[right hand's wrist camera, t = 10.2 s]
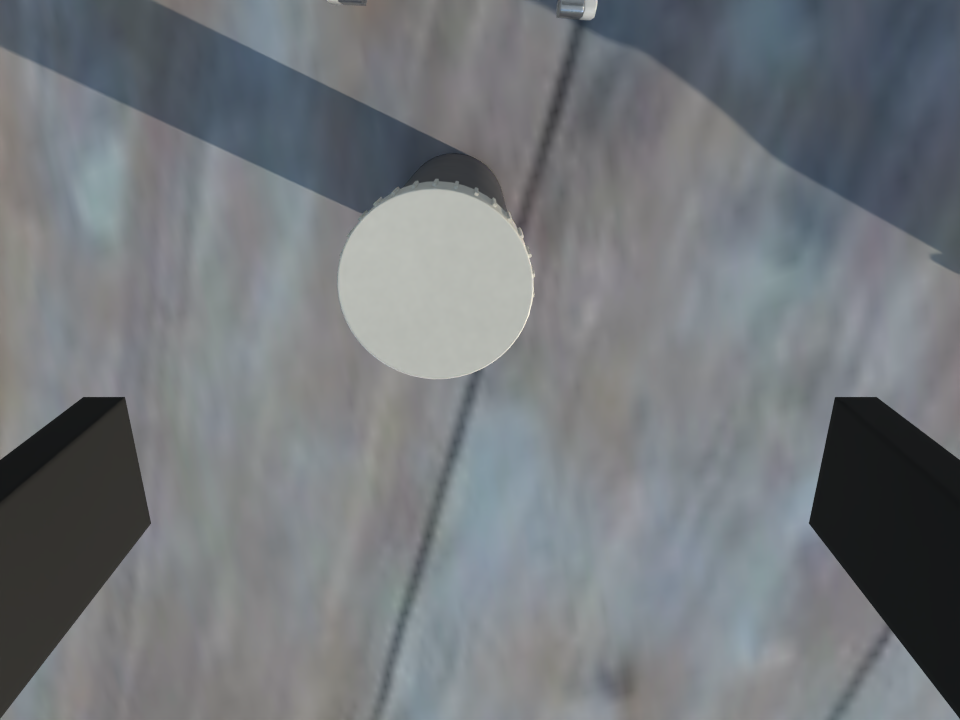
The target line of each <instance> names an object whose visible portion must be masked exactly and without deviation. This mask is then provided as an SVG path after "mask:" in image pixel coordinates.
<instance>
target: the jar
mask: <svg viewBox="0 0 960 720" xmlns="http://www.w3.org/2000/svg"><path fill="white" fill-rule="evenodd" d="M435 179H439V181H442V182H452V183H455V181H459V184H460V185H464V186H467V187H470V188H472V189H475V187H476V188H478V191H479V192H481V193H482V194H484V195H486V196H488V197H489V198H490V199H492V198H493V197H494V198H495V199H496V203H497V204H498V205H499V206H500V207H501V208H502V209H503V210H504V211H505V212H507V210H506V206H505V202H504V198H503V194H502V191H501V187H500V185H499V182H498V180H497V179H496V177H495V175H494V174H493V173H492V171H491V170H490V169H489V168H488V167H487V166H486V165H485V164H483V163H482V162H481V161H479V160H477V159H475V158H473V157H470V156H467V155H463V154H445V155H441V156H437V157H435V158H433V159H431V160H429V161H428V162H426V163H425V164H424V165H422V166H421V167H420V168H419V169H418V171H417V172H416V173H415V174H414V175H413V176H412V177H411V179H410V180H409V181H408V182H407V183H406V184H405V185H404V187H406V186H409V185H412V184H413V183H414V182H415V181H418V182H419V183H422V182H433V181H434V180H435Z"/></svg>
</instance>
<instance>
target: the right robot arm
mask: <svg viewBox="0 0 960 720" xmlns="http://www.w3.org/2000/svg"><path fill="white" fill-rule="evenodd" d="M150 524H151V521H150V516H149V511H148V507H147V502H146V497H145V492H144V487H143V482H142V478H141V473H140V468H139V463H138V458H137V453H136V449H135V444H134V439H133V434H132V429H131V424H130V420H129V415H128V410H127V405H126V400H125V397H83V398H82V399H80V400H79V401H78V402H76V403H75V404H74V405H72V406H71V407H70V408H69V409H67V410H66V411H65V412H63V413H62V414H61V415H59V416H58V417H57V418H55V419H54V420H53V421H51V422H50V423H49V424H47V425H46V426H45V427H43V428H42V429H41V430H39V431H38V432H37V433H35V434H34V435H33V436H31V437H30V438H29V439H28V440H26V441H25V442H24V443H22V444H21V445H20V446H18V447H17V448H16V449H14V450H13V451H12V452H10V453H9V454H8V455H6V456H5V457H4V458H2V459H1V460H0V718H1V717H2V716H3V714H4V713H5V712H6V710H7V709H8V708H9V707H10V705H11V704H12V703H13V701H14V700H15V699H16V698H17V696H18V695H19V694H20V692H21V691H22V690H23V688H24V687H25V686H26V685H27V683H28V682H29V681H30V679H31V678H32V677H33V676H34V674H35V673H36V672H37V670H38V669H39V668H40V666H41V665H42V664H43V663H44V661H45V660H46V659H47V657H48V656H49V655H50V653H51V652H52V651H53V650H54V648H55V647H56V646H57V644H58V643H59V642H60V641H61V639H62V638H63V637H64V635H65V634H66V633H67V631H68V630H69V629H70V628H71V626H72V625H73V624H74V622H75V621H76V620H77V619H78V617H79V616H80V615H81V613H82V612H83V611H84V609H85V608H86V607H87V606H88V604H89V603H90V602H91V600H92V599H93V598H94V597H95V595H96V594H97V593H98V591H99V590H100V589H101V587H102V586H103V585H104V584H105V582H106V581H107V580H108V578H109V577H110V576H111V575H112V573H113V572H114V571H115V569H116V568H117V567H118V565H119V564H120V563H121V562H122V560H123V559H124V558H125V556H126V555H127V554H128V553H129V551H130V550H131V549H132V547H133V546H134V545H135V543H136V542H137V541H138V540H139V538H140V537H141V536H142V534H143V533H144V532H145V530H146V529H147V528H148V527H149V525H150ZM809 524H810V525H811V527H812V528H813V529H814V530H815V532H816V533H817V534H818V536H819V537H820V538H821V540H822V541H823V542H824V543H825V545H826V546H827V547H828V549H829V550H830V551H831V553H832V554H833V555H834V556H835V558H836V559H837V560H838V562H839V563H840V564H841V565H842V567H843V568H844V569H845V571H846V572H847V573H848V575H849V576H850V577H851V578H852V580H853V581H854V582H855V584H856V585H857V586H858V587H859V589H860V590H861V591H862V593H863V594H864V595H865V597H866V598H867V599H868V600H869V602H870V603H871V604H872V606H873V607H874V608H875V609H876V611H877V612H878V613H879V615H880V616H881V617H882V619H883V620H884V621H885V622H886V624H887V625H888V626H889V628H890V629H891V630H892V631H893V633H894V634H895V635H896V637H897V638H898V639H899V641H900V642H901V643H902V644H903V646H904V647H905V648H906V650H907V651H908V652H909V653H910V655H911V656H912V657H913V659H914V660H915V661H916V663H917V664H918V665H919V666H920V668H921V669H922V670H923V672H924V673H925V674H926V676H927V677H928V678H929V679H930V681H931V682H932V683H933V685H934V686H935V687H936V688H937V690H938V691H939V692H940V694H941V695H942V696H943V698H944V699H945V700H946V701H947V703H948V704H949V705H950V707H951V708H952V709H953V710H954V712H955V713H956V714H957V716H958V717H959V718H960V460H959V459H958V458H956V457H955V456H954V455H952V454H951V453H950V452H948V451H947V450H946V449H944V448H943V447H942V446H940V445H939V444H938V443H936V442H935V441H934V440H932V439H931V438H930V437H929V436H927V435H926V434H925V433H923V432H922V431H921V430H919V429H918V428H917V427H915V426H914V425H913V424H911V423H910V422H909V421H907V420H906V419H905V418H903V417H902V416H901V415H899V414H898V413H897V412H895V411H894V410H893V409H891V408H890V407H889V406H888V405H886V404H885V403H884V402H882V401H881V400H880V399H878V398H877V397H835V400H834V405H833V410H832V415H831V420H830V424H829V429H828V434H827V439H826V444H825V449H824V453H823V458H822V463H821V468H820V473H819V478H818V482H817V487H816V492H815V497H814V502H813V507H812V511H811V516H810V521H809Z"/></svg>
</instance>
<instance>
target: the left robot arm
mask: <svg viewBox="0 0 960 720" xmlns="http://www.w3.org/2000/svg"><path fill="white" fill-rule="evenodd" d="M326 1H327V2H329V3H331V4H340V5H359V6H366V3H367V0H326ZM597 1H598V0H558V1H557V9H556V18H565V19H577V20H592V19H593V18H594V17H595V13H596V8H597Z"/></svg>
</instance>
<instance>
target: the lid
mask: <svg viewBox="0 0 960 720" xmlns="http://www.w3.org/2000/svg"><path fill="white" fill-rule="evenodd" d="M373 205H374V207H373V208H372V209H371V210H370V211H369V212H368V211H367V210H366V211H365V212H364V213H363V214H362V215H361V216H360V217H359V218H358V220H359V223H358V224H357V225H356V226H355V227H354V228H353V229H352V230H351V231H350V232H349V233H348V235H347V237H348V239H347V241H346V243H345V245H344V248H343V250H342V252H341V253H340V256H341V257H340V260H339V266H338V272H337V289H338V298H339V302H340V306H341V310H342V313H343V315H344V318H345V320H346V322H347V324H348V326H349V328H350V330H351V331H352V333H353V334H354V336H355V337H356V339H357V340H358V341H359V343H360V344H361V345H362V346H363V347H364V348H365V349H366V350H367V351H368V352H369V353H370V354H371V355H373V356H374V357H375V358H376V359H377V360H379V361H381V362H382V363H384V364H385V365H387V366H389V367H391V368H393V369H395V370H397V371H399V372H402V373H405V374H408V375H411V376H415V377H420V378H428V379H448V378H455V377H460V376H464V375H467V374H471V373H473V372H475V371H478V370H480V369H482V368H484V367H486V366H487V365H489V364H491V363H492V362H494V361H495V360H496V359H498V358H499V357H500V356H502V355H503V354H504V353H505V352H506V351H507V350H508V349H509V348H510V347H511V345H512V344H513V343H514V342H515V340H516V339H517V338H518V336H519V334H520V333H521V331H522V329H523V328H524V325H525V323H526V321H527V318H528V316H529V314H530V309H531V305H532V298H533V297H534V291H533V277H535V273H534V270H533V267H532V264H531V263H530V259H529V258H530V257H532V256H531V253H530V250H529V247H528V245H527V246H525V243H524V241H523V238H524V236H523V233H522V230H521V228H520V227H519V228H517V227H516V225H515V223H514V222H513V220H512V218H511V214H510V212H509V211H507V212H505V211H504V210H503V209H502V208H501V207H500V206H499V205H498V204H497V203H496V199H495V198H494V197H493V198H492V199H490V198H489V197H488V196H486V195H484V194H482V193H481V192H479V191H478V188H476V187H475V189H472V188H470V187H467V186H464V185H460V184H459V181H455V183H452V182H442V181H439V179H435V180H434V181H433V182H422V183H419V182H418V181H415V182H414V183H413V184H412V185H409V186H406V187H403V188H401V189H400V188H399V187H397V188H395V189H394V190H393V191H392V193H391V194H389V195H388V196H386V197H385V198H382V197H380V198H379V199H378V200H377V201H376V202H375V203H374V204H373Z"/></svg>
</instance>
